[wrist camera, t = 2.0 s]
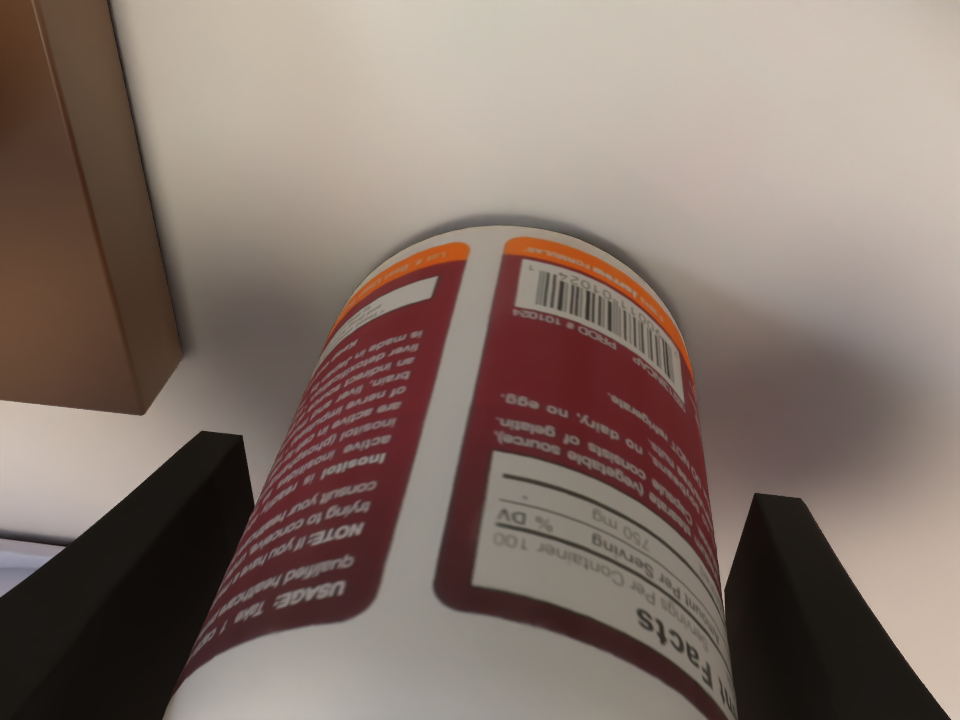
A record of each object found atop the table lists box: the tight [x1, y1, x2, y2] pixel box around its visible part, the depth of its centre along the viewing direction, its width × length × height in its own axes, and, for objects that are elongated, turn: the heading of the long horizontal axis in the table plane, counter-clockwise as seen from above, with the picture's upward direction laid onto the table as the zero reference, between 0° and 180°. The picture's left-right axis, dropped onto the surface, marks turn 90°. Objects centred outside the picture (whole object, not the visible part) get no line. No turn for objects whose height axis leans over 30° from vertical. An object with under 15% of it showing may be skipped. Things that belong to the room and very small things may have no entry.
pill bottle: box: [162, 225, 738, 720], centre depth 11 cm, size 6×6×11 cm
